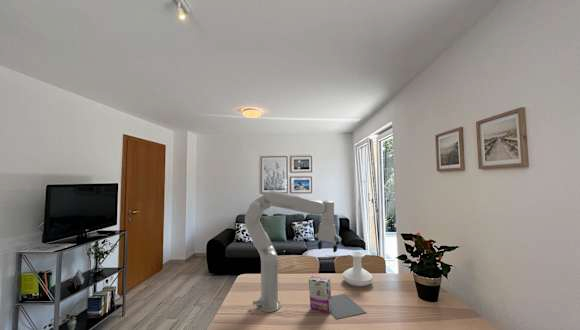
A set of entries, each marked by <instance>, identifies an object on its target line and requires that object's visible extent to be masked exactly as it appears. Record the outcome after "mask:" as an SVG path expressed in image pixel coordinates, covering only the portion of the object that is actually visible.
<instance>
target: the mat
mask: <svg viewBox="0 0 580 330" xmlns="http://www.w3.org/2000/svg"><path fill="white" fill-rule="evenodd" d="M331 304H332V309H331V311H330V312H329V314H331V315H332V316H333V317H334V318H335V319H336V320H339V319H344V318H349V317H354V316H355V317H356V316H359V315H364V314H367V311H365V310H364V308H362V307H361V306H360V305H358V304H357V302H355V301H354V300H353V299H352V298H351V297H349V296H348V295H347V294H346V293H340V294H335V295H331Z"/></svg>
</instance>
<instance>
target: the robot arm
mask: <svg viewBox="0 0 580 330" xmlns="http://www.w3.org/2000/svg"><path fill="white" fill-rule="evenodd" d="M271 207H276V208H282V209H287V210H291V211H296V212H302V213H305V214H311V215H318V216H320V215H321V218H319V222H320V223H319V227H318V232H317V233H315V234H313V235H314V238H315V240H316V242H317V247H318V250H321V249H322V247H323V242H329V243H332V244H333V247H332V249H333V250H332V251H333V253H336V252H338V245H339V244H340V243H341V241H342V238H341V236H339V235H337V228H336V224H335V202H334V201H332V200H317V199H316V200H314V199H313V200H311V199H307V198H303V197H301V196H298V195H295V194H294V195H293V194H288V193H283V192H280V191H279V192H278V191H275V190H269V191H268V192H266V193H264V194H263V195H262V196H260V197H258V198H257V199H254V200H253V201H252V202H251V203H250V204H249V206H248V209H247V211H246V213H245V216H244V225H245V228H246V230H247V232H248V234H249V236H250V239H251V242H252V244H253V246H254V248H255V249H256V250H257V252H258V254H259V256H260V257H259V258H260V297H259V298H258V299H257V300H252V305H253V306H255V307H258V310H260V312H263V313H273V312H277V311H278V310H280V308H281V306H282V305H281V301H279V299H278V297H279V293H278V291H279V289H278V288H279V287H278V285H279V281H278V279H279V278H278V277H279V275H278V273H279V272H278V271H279V257H278V253H277V250H276V249H275V247H274V245H273V243H272V241H271V239H270V237H269V234H268V233H267V232H266V231H265V229H264V226H263V225H262V222H261V217H262V215H263V214H264V212H265V211H266V210H267V209H270V208H271ZM322 241H323V242H322Z"/></svg>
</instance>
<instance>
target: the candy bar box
mask: <svg viewBox="0 0 580 330" xmlns="http://www.w3.org/2000/svg"><path fill="white" fill-rule="evenodd" d="M331 288H332V287H331V279H330V278H326V277H319V276H311V277H310V278H309V279H308V289H309V306H310V308H309V309H310V310H314V311H318V312H322V313H327V314H330V311H331V309H332V304H331V296H332V291H331Z"/></svg>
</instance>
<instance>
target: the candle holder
mask: <svg viewBox="0 0 580 330" xmlns="http://www.w3.org/2000/svg"><path fill="white" fill-rule="evenodd" d="M349 255H350V256H351V258H352V263H353V265H352V267H351V268H348V269H346V270H345V271H343V272H342V279H343V280H344V281H345V282H346V283H347V284H349V285H350V286H354V287H360V288H361V287H366V286H369V285H370V284H372V282H373V275H372V274H371V273H370V272H369V271H368V270H366V269H364V268H363V267H362V258H364V257H365V256H366V254H365V253H364V252H358V251H353V252H349Z"/></svg>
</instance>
